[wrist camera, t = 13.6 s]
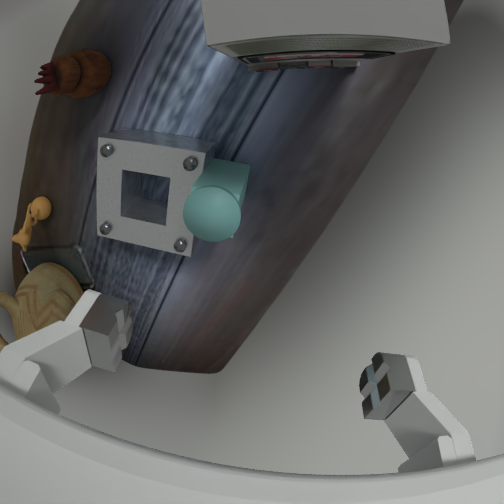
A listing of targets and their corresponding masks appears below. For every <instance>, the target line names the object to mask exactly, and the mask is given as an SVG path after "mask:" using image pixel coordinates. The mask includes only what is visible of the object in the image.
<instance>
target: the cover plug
mask: <svg viewBox="0 0 504 504" xmlns="http://www.w3.org/2000/svg"><path fill="white" fill-rule="evenodd" d="M250 166H251V165H249V164H244V163H238V162H233V161H227V160H221V159H215V158H214V159H213V161H212V162H211V163H210V164H209V165H208V167H207V168H206V169H205V170H204V171H203V173H202V174H201V175H200V176H199V178H198V179H197V180H196V181H195V183H194V184H193V185H192V187H191V194H190V195H189V197H188V198H187V200H186V201H185V203H184V206H183V219H184V222H185V225H186V227H187V230H189V231H190V232H191V233H192V234H193V235H194V236H196V237H197V238H199V239H202V240H204V241H208V242H219V241H223V240H226V239H228V238H233V236H234V233H235V232H236V230H237V229H238V227H239V224H240V220H241V209H242V205H243V202H244V199H245V193H246V188H247V182H248V177H249V171H250Z"/></svg>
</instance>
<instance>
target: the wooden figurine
mask: <svg viewBox="0 0 504 504" xmlns="http://www.w3.org/2000/svg"><path fill="white" fill-rule="evenodd" d="M40 68H41V69H42V70H43V71H40V72H39V73H38V75H42V76H43V77H42V78H39V79H36V80H35V83H42V84H44V85H45V87H44V88H42V89H40V90H39V91H37V92H36V93H35V94H36V95H39V94H45V93H52V94H54V95H64V94H65V95H66V96H68V97H70V98H74V99H78V98H85V97H89V96H91V95H93V94H95V93H97V92H100V91H101V90H102V89H103V88H104V87H105V86H106V84H107V83H108V81H109V79H110V75H111V65H110V62H109V60H108V59H107V58H106V56H105V55H104V54H102V53H101V52H98V51H93V50H88V49H81V50H76V51H74V52H72V53H71V54H69V55H68V56H60V57H57V58H55V59H54V60H52V61H51V62H50V63H47V64H45V65H42V66H41V67H40Z"/></svg>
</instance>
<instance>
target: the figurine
mask: <svg viewBox="0 0 504 504" xmlns="http://www.w3.org/2000/svg"><path fill="white" fill-rule="evenodd" d="M30 207H31V213H32V214H30ZM51 209H52V206H51V203H50V201H49V200H48V199H47V198H46V197H38V198H36V199H35V200H34V201H33V202H32V203H30V204H29V206H28V210H27V216H26V220H25V223H24V226H23V228H22V229H21V230H20V231H19V233H18V234H16V235H14V236H13V237H12V241H13V242H17V243H19V244H20V245H21V246H22V248H23V250H24V251H26V249H27V246H28V243H29V242H30V239H31V233H32V227H31V226H34V225H35V224H36V223H37V219H38V220H43V219H45V218H47V217H48V216H49V215H50V213H51ZM31 217H32V218H35V222H32V218H31Z"/></svg>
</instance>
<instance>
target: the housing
mask: <svg viewBox="0 0 504 504" xmlns="http://www.w3.org/2000/svg"><path fill="white" fill-rule="evenodd" d="M216 145H217V142H215V141H209V140H204V139H198V138H192V137H186V136H180V135H174V134H167V133H160V132H153V131H145V130H138V129H129V128H121V129H118V130H116V131H113V132H110V133H108V134H105V135H103V136H100V137H98V155H97V234H98V235H99V236H103V237H107V238H111V239H116V240H120V241H124V242H128V243H132V244H137V245H141V246H145V247H150V248H154V249H158V250H162V251H167V252H171V253H176V254H180V255H184V256H189V257H191V255H192V253H193V251H194V249H195V247H196V245H197V243H198V241H199V238H197V237H196V236H194V235H193V234H192V233H191V232H190V231H189V230H187V227H186V225H185V222H184V219H183V206H184V203H185V201H186V200H187V198H188V197H189V195H190V194H191V187H192V185H193V184H194V183H195V181H196V180H197V179H198V178H199V176H200V175H201V174H202V173H203V171H204V170H205V169H206V168H207V167H208V165H209V164H210V163H211V162H212V161H213V159H214V156H215V150H216ZM142 173H146V174H152V175H157V176H163V177H168V178H170V187H169V196H168V203H167V202H162V201H157V200H152V199H147V198H142V197H140V195H141V180H142Z"/></svg>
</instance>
